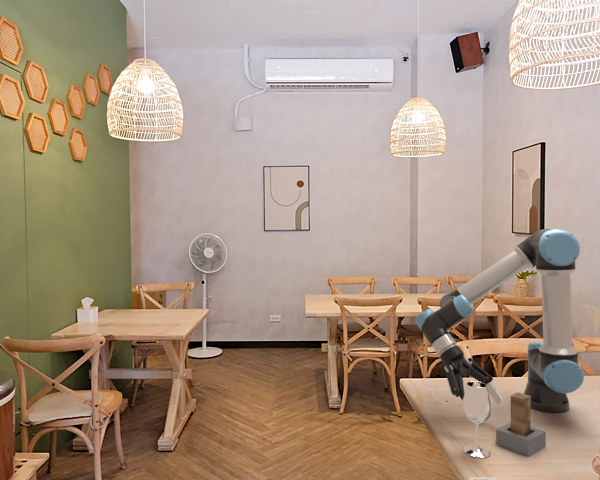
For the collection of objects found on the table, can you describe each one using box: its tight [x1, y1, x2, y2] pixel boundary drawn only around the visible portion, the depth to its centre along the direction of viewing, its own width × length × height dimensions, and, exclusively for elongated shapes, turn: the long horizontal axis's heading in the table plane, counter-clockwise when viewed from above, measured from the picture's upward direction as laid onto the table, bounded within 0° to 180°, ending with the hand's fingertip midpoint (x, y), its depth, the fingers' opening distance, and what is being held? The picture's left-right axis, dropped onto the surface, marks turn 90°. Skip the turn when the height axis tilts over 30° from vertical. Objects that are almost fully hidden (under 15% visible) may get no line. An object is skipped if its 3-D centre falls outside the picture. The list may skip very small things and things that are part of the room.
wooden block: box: [510, 391, 532, 437], centre depth 140 cm, size 4×4×14 cm
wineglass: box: [462, 380, 492, 459], centre depth 136 cm, size 8×8×20 cm
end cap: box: [495, 421, 547, 457], centre depth 140 cm, size 10×10×4 cm
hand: (488, 407), depth 148 cm, fingers open, 13 cm apart
